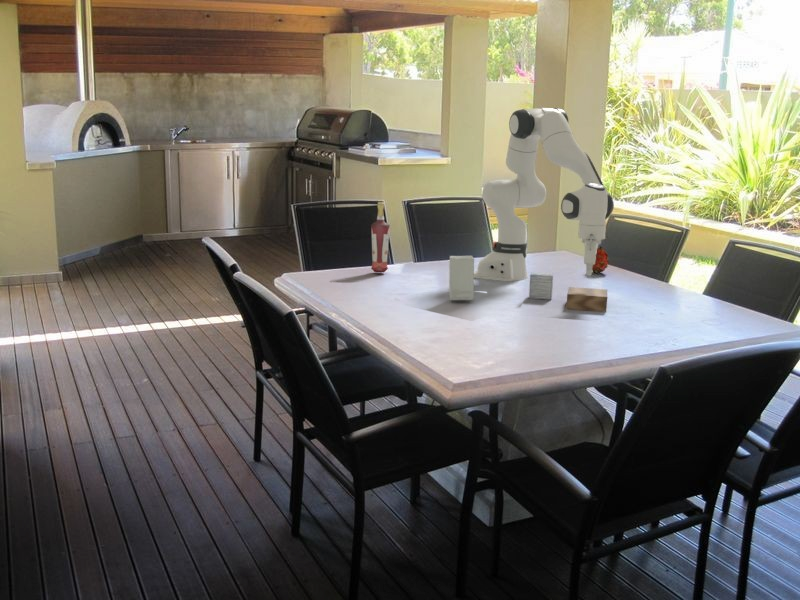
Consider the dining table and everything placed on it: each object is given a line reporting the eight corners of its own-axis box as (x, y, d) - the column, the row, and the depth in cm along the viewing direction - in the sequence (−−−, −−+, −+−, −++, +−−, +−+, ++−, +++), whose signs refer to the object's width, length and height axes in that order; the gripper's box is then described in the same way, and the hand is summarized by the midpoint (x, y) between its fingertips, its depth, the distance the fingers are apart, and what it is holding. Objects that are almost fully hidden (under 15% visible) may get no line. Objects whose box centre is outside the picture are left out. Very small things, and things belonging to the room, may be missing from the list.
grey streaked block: (552, 297, 300) (553, 273, 298) (551, 300, 295) (552, 275, 294) (529, 296, 301) (531, 272, 300) (528, 298, 297) (530, 274, 295)
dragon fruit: (584, 272, 352) (586, 243, 350) (605, 272, 352) (607, 244, 350) (589, 275, 344) (591, 246, 341) (610, 276, 344) (612, 247, 341)
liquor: (388, 273, 339) (389, 203, 333) (370, 272, 339) (371, 202, 333) (388, 270, 346) (390, 201, 340) (370, 269, 346) (372, 201, 340)
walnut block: (566, 308, 282) (567, 294, 281) (568, 301, 294) (568, 286, 293) (606, 311, 279) (607, 296, 278) (606, 303, 292) (607, 289, 290)
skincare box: (471, 296, 298) (473, 255, 294) (473, 300, 292) (475, 258, 289) (447, 296, 297) (449, 254, 294) (449, 300, 291) (451, 257, 288)
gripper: (601, 237, 271) (598, 279, 274) (601, 229, 290) (598, 269, 293) (581, 236, 272) (578, 278, 275) (583, 228, 292) (580, 268, 295)
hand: (588, 273), depth 284 cm, fingers open, 4 cm apart
